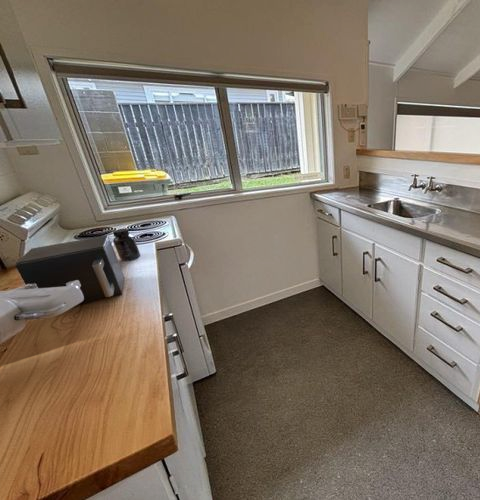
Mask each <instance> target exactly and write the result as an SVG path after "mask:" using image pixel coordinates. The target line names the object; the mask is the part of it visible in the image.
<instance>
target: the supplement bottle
mask: <svg viewBox="0 0 480 500" xmlns="http://www.w3.org/2000/svg"><path fill="white" fill-rule="evenodd" d="M112 234H113V237H114V238H113V239H112V242H113V246H114V247H115V250H116V252H117V256H118V257H119V259H120V261H122V262H128V261H127V260H129V261H133V260H136V259H138V258H140V257H141V253H140V250H139V247H138V243H137V242H136V238H135V237H134V236H133V235H132V234H130V231H129V229H128V228H119V229H115V230H113V231H112ZM135 258H136V259H135ZM132 259H133V260H132Z"/></svg>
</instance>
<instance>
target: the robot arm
mask: <svg viewBox="0 0 480 500" xmlns="http://www.w3.org/2000/svg"><path fill="white" fill-rule="evenodd" d="M79 287H81V284H80V282H79V281H78V280H74V281H70V282H68V283H66V286H64V287H51V288H38V287H37V284H27V285H26V284H24V285H23V286H19V287H16V288H13V289H9V290H0V345H1V344H3V343H5V342H6V341H8V340H9V339H11V338H13V337H14V336H15V335H17V334H19V333H20V332H22V331H23V329H24V328H25V327H26V323H27V321H33V320H35V321H36V320H45V319H51V318H55V317H57V316H60V315H62V314H64V313H65V312H67V311H69V310H71V309H74V308H75V307H74V306H76V305H78V304H79V303H81V302H82V301H83V300H84V296H83V293H82V291H81V290H80V288H79Z"/></svg>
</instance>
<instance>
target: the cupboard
mask: <svg viewBox="0 0 480 500" xmlns="http://www.w3.org/2000/svg"><path fill="white" fill-rule="evenodd" d="M102 247H104V249H105V251H106V254H107V256H108V259H109V261H110V264H111V266H112V269H113V271H114V274H115V276H116V279H117V281H118V284H119V286H120V288H121V291H122V294H124V287H125V279H126V277H125V275H124V272H123V269H122V267H121V265H120V262H119V259H118V256H117V254H116V252H115V249H114V245H113V244H112V241H111V238H110V236H109V235H108V234H106V235H102V236H96V237H95V236H94V237H90V238H84V239H78V240H72V241H67V242H61V243H56V244H48V245H44V246H38V247H33V248H30V249H29V250H28V251H27V252H26V253H25V254H24V255H22V256H21V258H19V260H18V261H16V263H15V264H18V263H23V262H29V261H34V260H39V259H44V258H50V257H55V256H60V255H65V254H71V253H76V252H81V251H86V250H92V249H97V248H102Z"/></svg>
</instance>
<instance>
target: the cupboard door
mask: <svg viewBox="0 0 480 500" xmlns="http://www.w3.org/2000/svg"><path fill="white" fill-rule="evenodd" d="M14 266H15V268H16V270H17V272H18V273H19V275H20V277H21V279H22V281H23V283H24V285H27V284H37V287H38V288H51V287H64V286H66V283H68V282H70V281H74V280H78V281H79V282H80V284H81V287H79V288H80V290H81V291H82V293H83V296H84V300H83V301H82V302H81V303H79V304H78V305H76V306H74V307H73V308H77V307H80V306H84V305H88V304H92V303H96V302H100V301H104V300H107V299H110V298H115V297H119V296H122V295H123V293H122V291H121V288H120V286H119V284H118V281H117V279H116V276H115V274H114V271H113V269H112V266H111V264H110V261H109V259H108V256H107V254H106V251H105V249H104V247H102V248H97V249H92V250H86V251H81V252H76V253H71V254H65V255H60V256H55V257H50V258H44V259H39V260H34V261H29V262H23V263H18V264H16V263H15V264H14Z"/></svg>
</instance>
